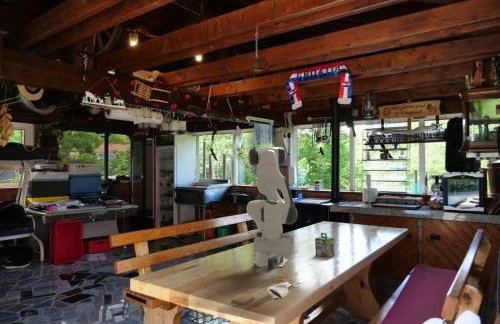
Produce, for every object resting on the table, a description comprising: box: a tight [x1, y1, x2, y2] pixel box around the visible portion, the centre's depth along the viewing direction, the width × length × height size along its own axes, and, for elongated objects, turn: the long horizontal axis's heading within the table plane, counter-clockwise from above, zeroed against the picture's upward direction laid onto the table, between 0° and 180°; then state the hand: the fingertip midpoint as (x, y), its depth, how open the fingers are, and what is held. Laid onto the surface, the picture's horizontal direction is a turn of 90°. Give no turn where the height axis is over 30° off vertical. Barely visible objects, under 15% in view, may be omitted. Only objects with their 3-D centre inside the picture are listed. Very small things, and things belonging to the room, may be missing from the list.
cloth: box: [266, 281, 292, 301], centre depth 169 cm, size 26×14×2 cm, turn 149°
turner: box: [256, 255, 283, 274], centre depth 167 cm, size 20×6×4 cm, turn 150°
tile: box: [231, 293, 255, 306], centre depth 157 cm, size 2×7×8 cm
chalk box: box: [314, 232, 336, 258], centre depth 232 cm, size 9×9×15 cm
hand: (273, 262), depth 169 cm, fingers closed on turner, 2 cm apart
